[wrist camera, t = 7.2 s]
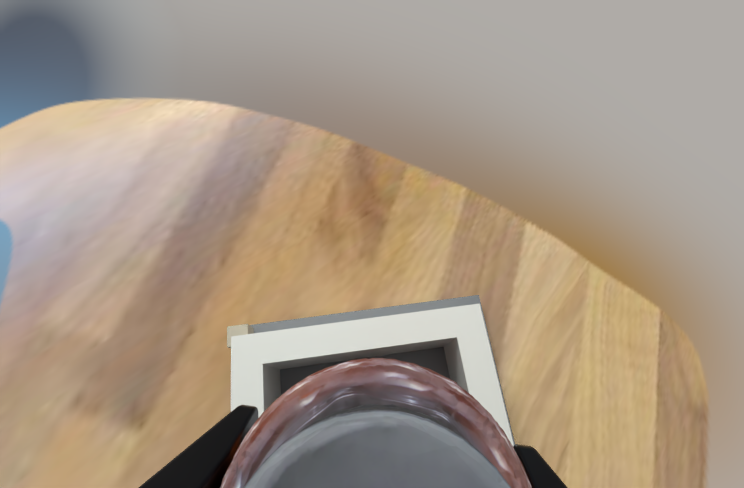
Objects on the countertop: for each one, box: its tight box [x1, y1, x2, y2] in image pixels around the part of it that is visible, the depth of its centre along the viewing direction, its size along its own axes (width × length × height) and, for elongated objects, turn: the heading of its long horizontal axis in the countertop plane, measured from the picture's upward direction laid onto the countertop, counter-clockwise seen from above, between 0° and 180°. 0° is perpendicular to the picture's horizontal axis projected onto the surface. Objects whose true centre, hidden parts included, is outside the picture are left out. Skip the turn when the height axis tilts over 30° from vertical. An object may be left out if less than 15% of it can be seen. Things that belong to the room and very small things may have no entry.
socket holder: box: [227, 295, 515, 446], centre depth 15 cm, size 12×12×4 cm
